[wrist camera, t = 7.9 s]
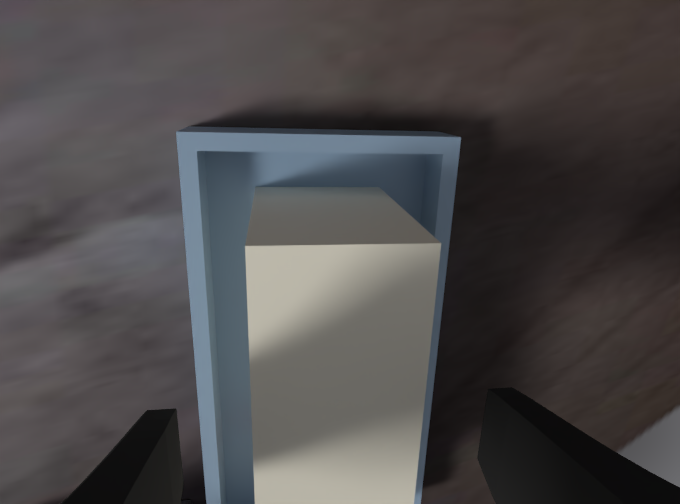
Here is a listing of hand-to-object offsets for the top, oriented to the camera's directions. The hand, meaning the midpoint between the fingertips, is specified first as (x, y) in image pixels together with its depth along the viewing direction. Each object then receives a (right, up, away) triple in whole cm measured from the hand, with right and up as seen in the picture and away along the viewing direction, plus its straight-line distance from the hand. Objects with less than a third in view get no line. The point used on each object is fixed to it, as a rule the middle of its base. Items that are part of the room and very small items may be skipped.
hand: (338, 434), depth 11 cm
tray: (-1, +1, +7) cm, 7 cm away
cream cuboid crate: (-1, +1, +6) cm, 6 cm away
